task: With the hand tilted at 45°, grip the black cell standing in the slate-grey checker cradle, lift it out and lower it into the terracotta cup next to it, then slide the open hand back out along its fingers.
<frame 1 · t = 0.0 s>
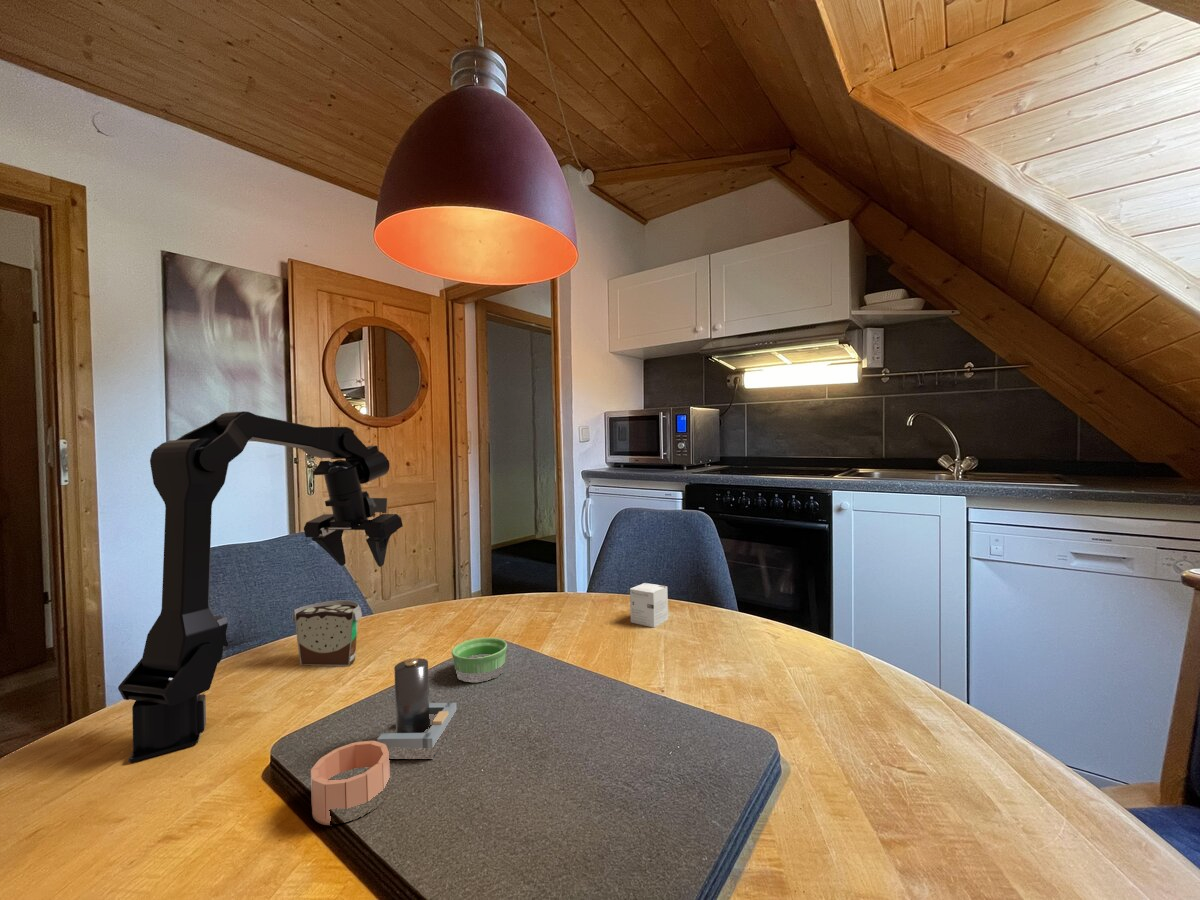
hand: (362, 565, 96), 15 cm above the table, tool pointing down, fingers open, 9 cm apart
food container: (336, 660, 89), on the table
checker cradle: (413, 739, 61), on the table
ramekin: (480, 674, 80), on the table
cell: (412, 700, 62), in the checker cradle
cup: (351, 799, 51), on the table
skincare box: (649, 622, 103), on the table
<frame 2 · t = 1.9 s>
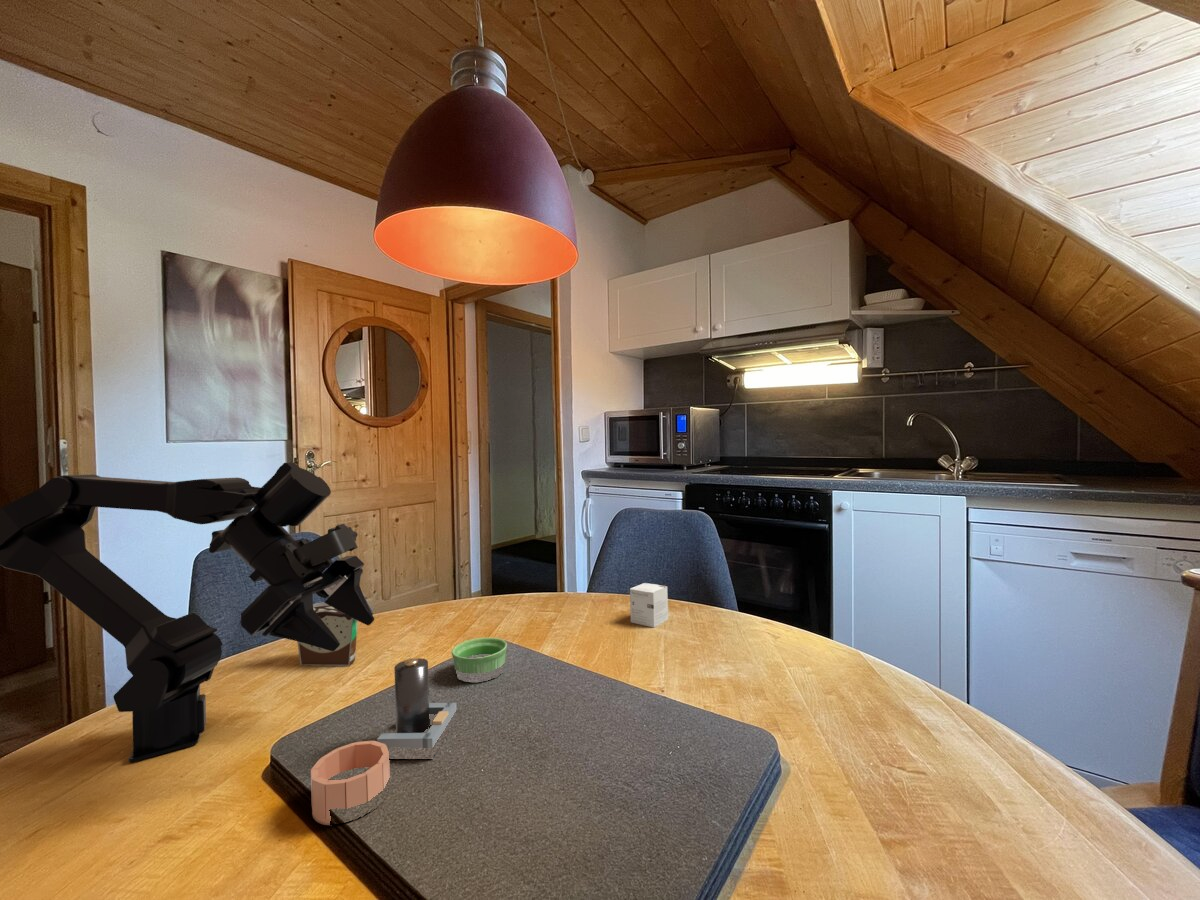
hand: (355, 634, 63), 13 cm above the table, tool tilted 45°, fingers open, 9 cm apart
nothing on the table moved.
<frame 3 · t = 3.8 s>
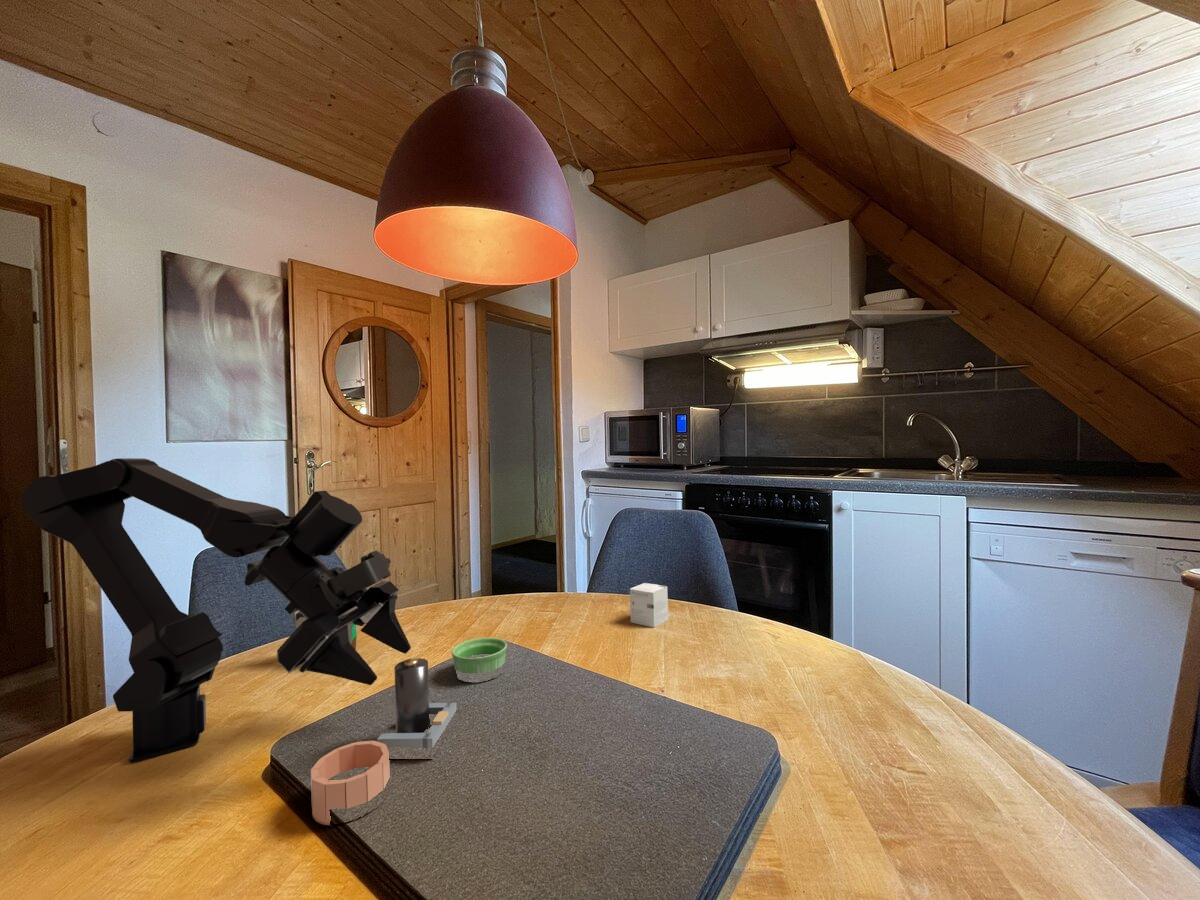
hand: (392, 665, 62), 9 cm above the table, tool tilted 45°, fingers open, 9 cm apart
nothing on the table moved.
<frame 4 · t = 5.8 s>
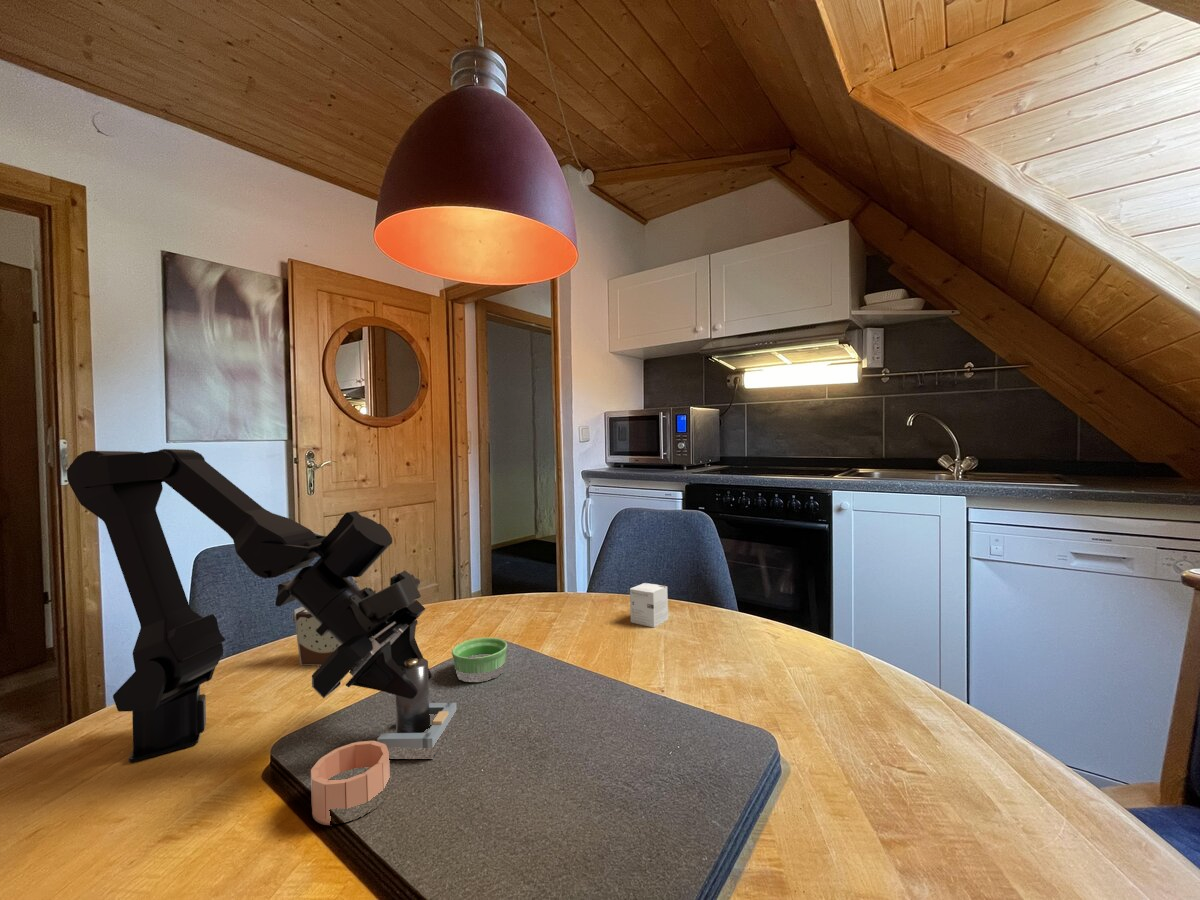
hand: (422, 687, 62), 7 cm above the table, tool tilted 45°, fingers closed on cell, 4 cm apart
cell: (412, 700, 62), in the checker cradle, touching gripper
everything else where it was.
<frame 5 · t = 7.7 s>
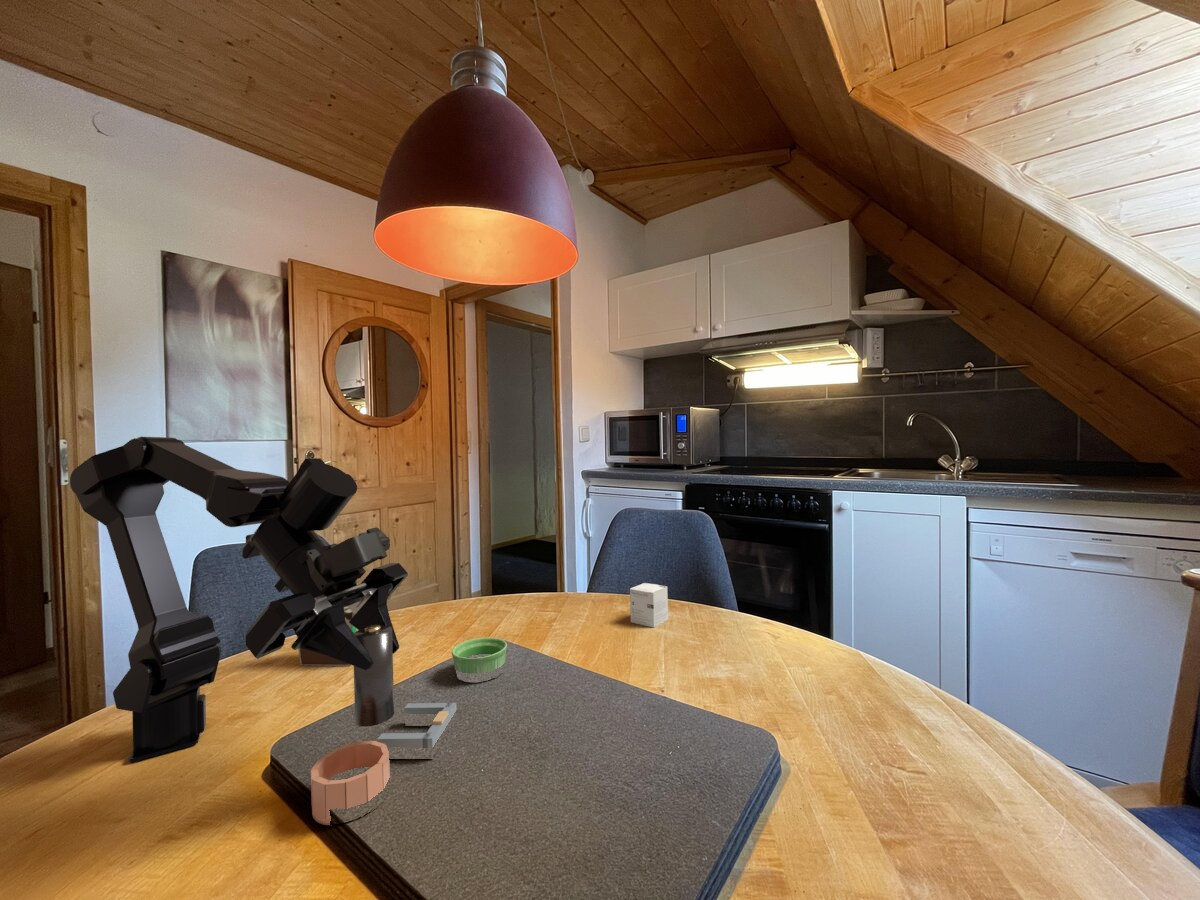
hand: (383, 658, 54), 14 cm above the table, tool tilted 45°, fingers closed on cell, 4 cm apart
cell: (373, 671, 54), point 12 cm above the table, touching gripper
everything else where it was.
when the fingers open (8 cm above the table, at t = 9.5 s): cell stays where it is, resting on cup.
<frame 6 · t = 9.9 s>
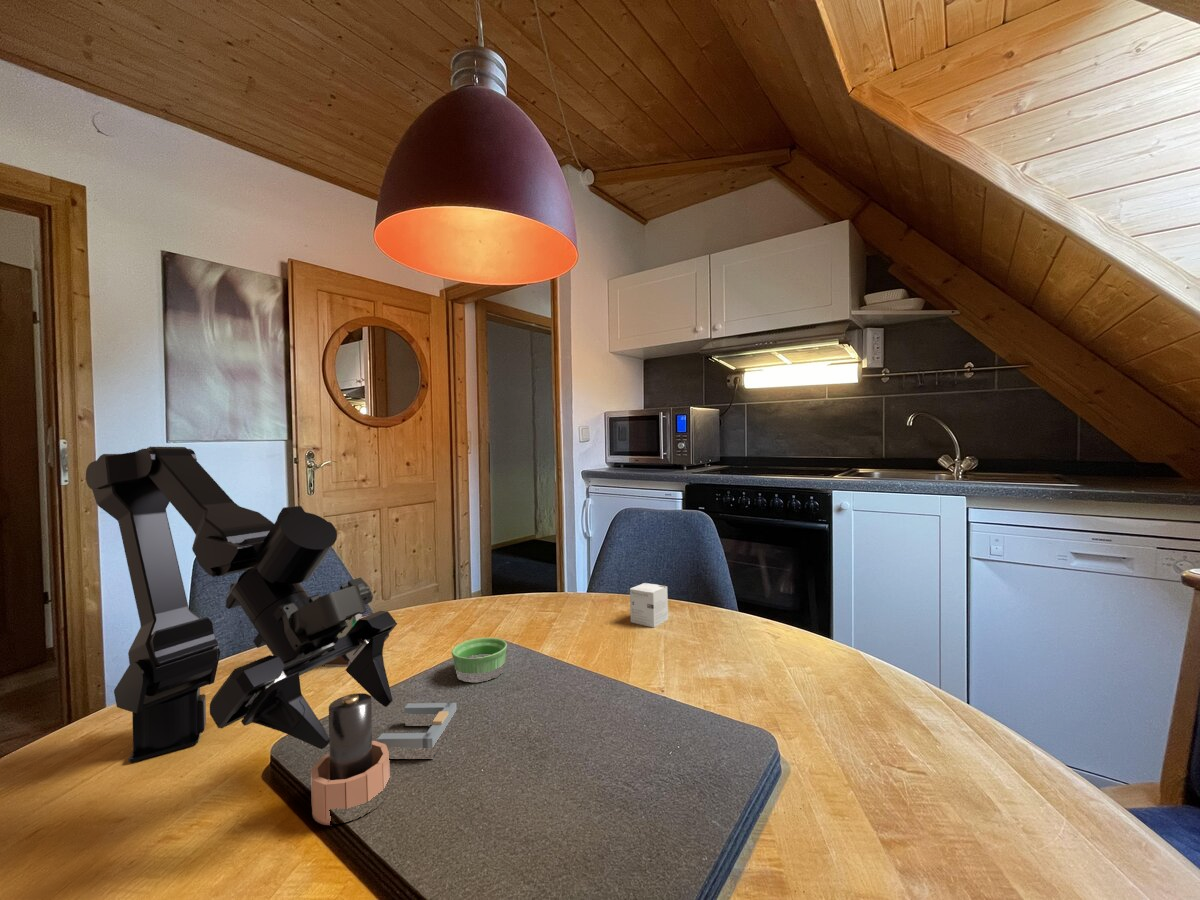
hand: (360, 723, 50), 8 cm above the table, tool tilted 45°, fingers open, 8 cm apart
cell: (351, 745, 51), in the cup, point 6 cm above the table
everything else where it was.
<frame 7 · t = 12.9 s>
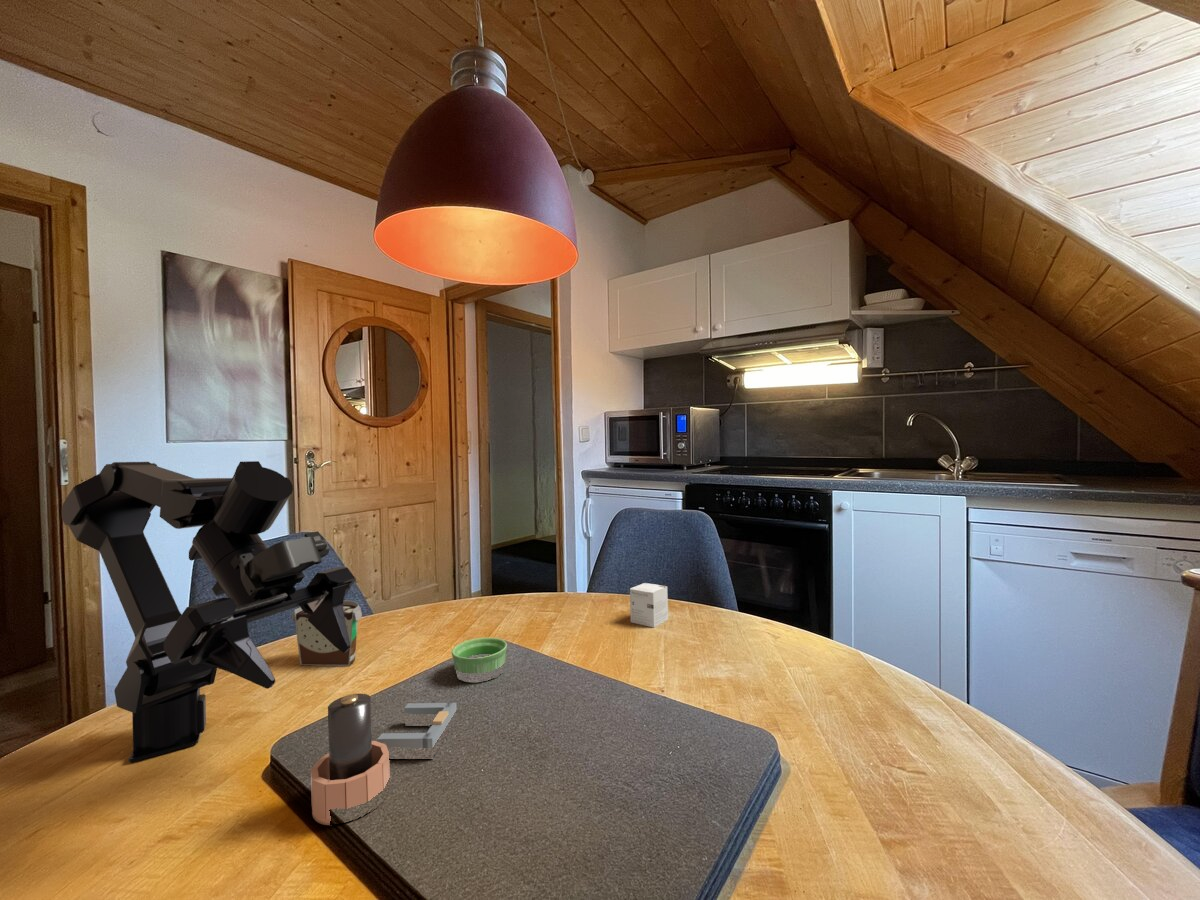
hand: (312, 666, 53), 13 cm above the table, tool tilted 45°, fingers open, 9 cm apart
nothing on the table moved.
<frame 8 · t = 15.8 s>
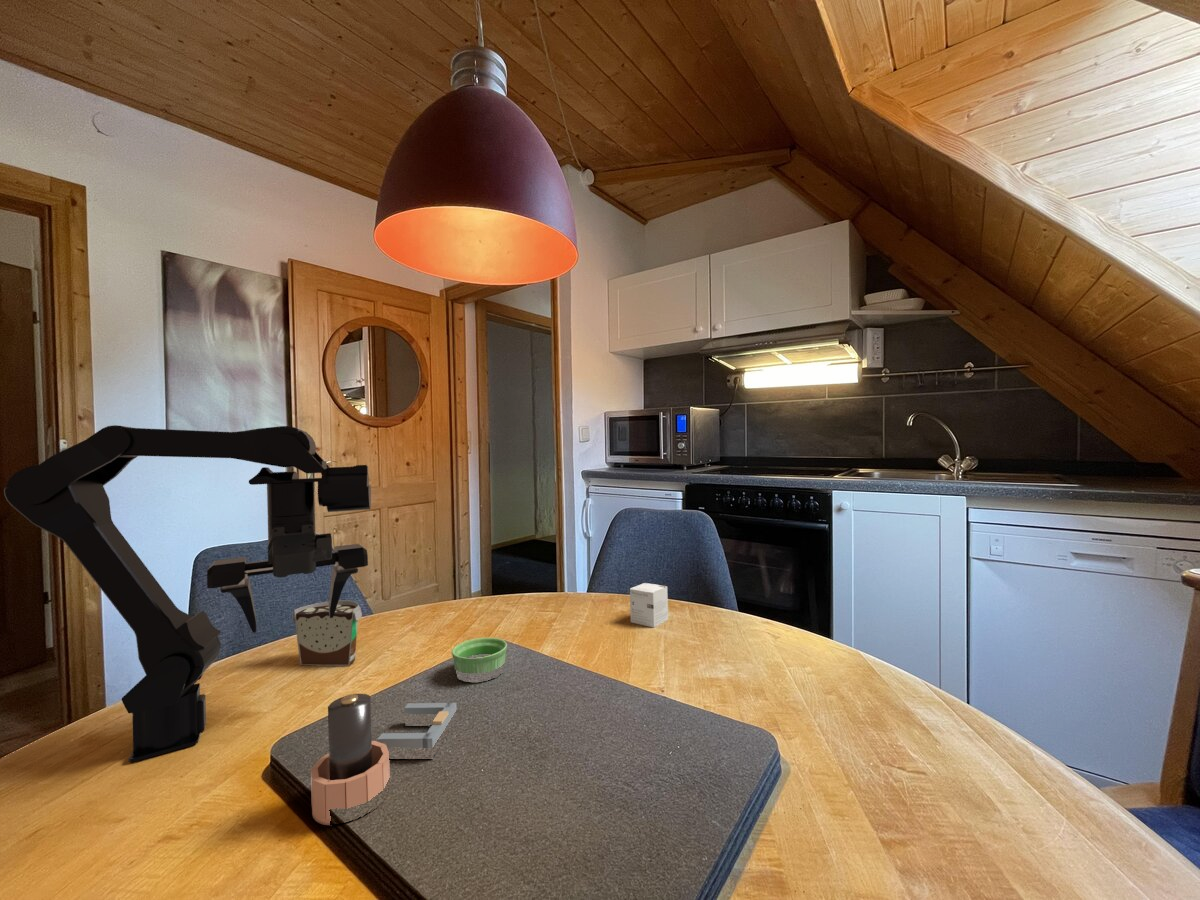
hand: (294, 624, 68), 13 cm above the table, tool pointing down, fingers open, 9 cm apart
nothing on the table moved.
at the end: cell 0.0 cm from the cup (horizontally); cell point 5.6 cm above the table; cell tilted 0° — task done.
